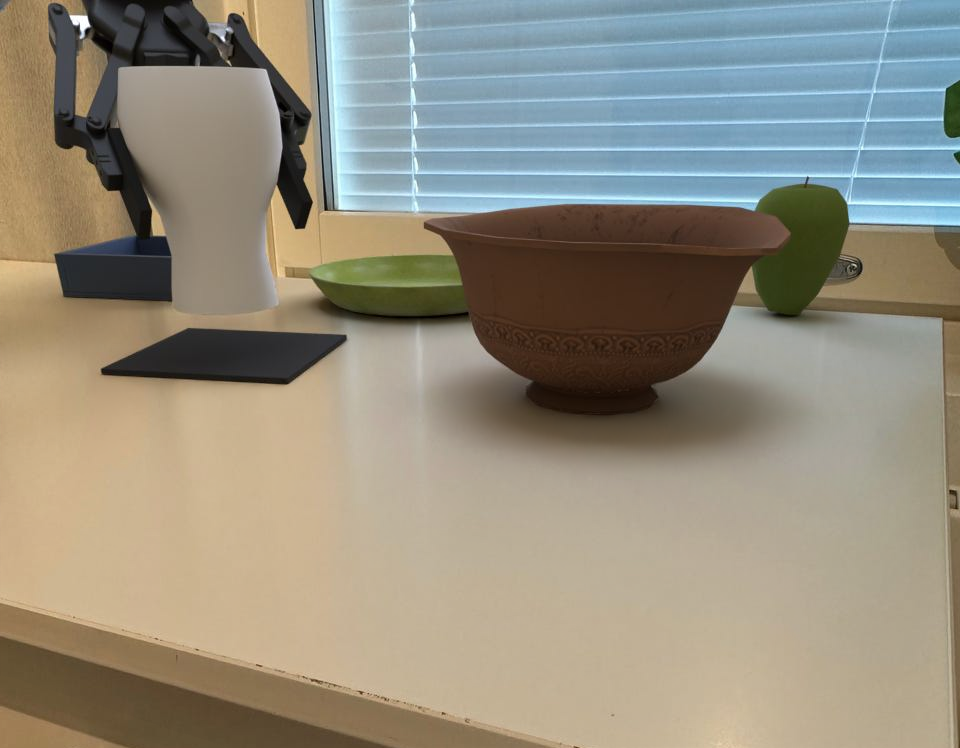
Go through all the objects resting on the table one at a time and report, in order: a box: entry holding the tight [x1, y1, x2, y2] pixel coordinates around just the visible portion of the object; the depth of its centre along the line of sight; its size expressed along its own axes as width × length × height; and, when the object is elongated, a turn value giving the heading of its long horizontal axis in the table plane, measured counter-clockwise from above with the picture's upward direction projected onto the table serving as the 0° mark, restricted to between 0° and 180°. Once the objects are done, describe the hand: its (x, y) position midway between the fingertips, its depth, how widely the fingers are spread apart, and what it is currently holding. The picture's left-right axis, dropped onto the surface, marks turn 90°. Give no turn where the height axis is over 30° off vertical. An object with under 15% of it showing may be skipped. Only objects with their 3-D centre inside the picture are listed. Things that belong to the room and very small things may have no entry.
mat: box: [100, 327, 348, 385], centre depth 68 cm, size 14×14×1 cm
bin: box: [53, 234, 172, 302], centre depth 94 cm, size 16×16×4 cm
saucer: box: [308, 253, 469, 317], centre depth 86 cm, size 21×21×3 cm
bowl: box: [423, 203, 791, 415], centre depth 56 cm, size 22×22×11 cm
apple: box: [751, 175, 851, 316], centre depth 80 cm, size 9×8×12 cm
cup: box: [117, 65, 282, 316], centre depth 63 cm, size 11×11×15 cm
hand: (228, 220), depth 61 cm, fingers closed on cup, 11 cm apart
